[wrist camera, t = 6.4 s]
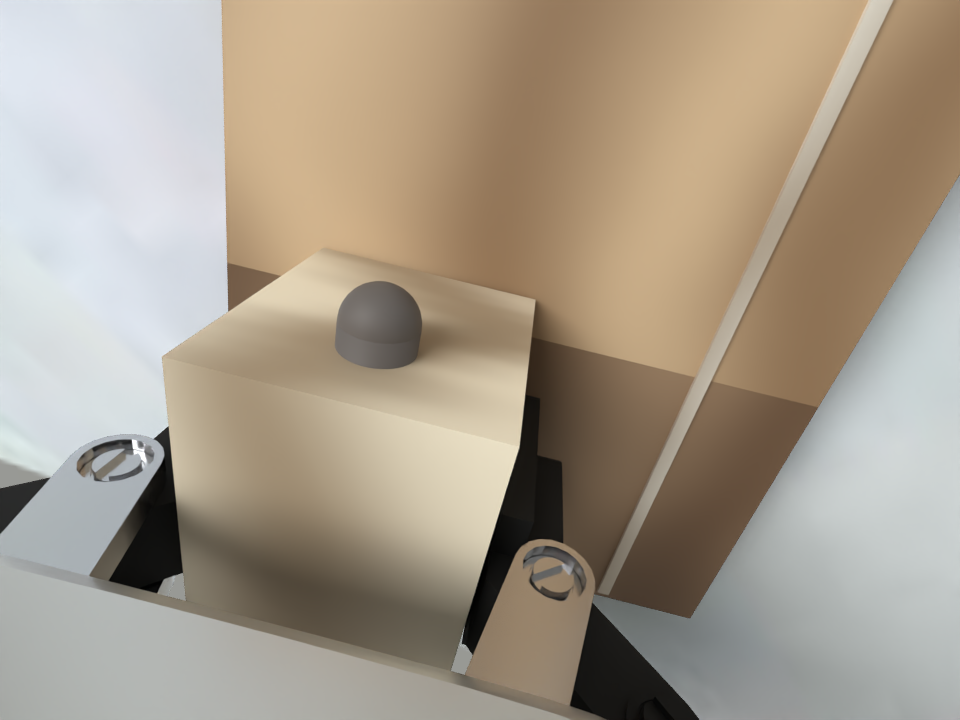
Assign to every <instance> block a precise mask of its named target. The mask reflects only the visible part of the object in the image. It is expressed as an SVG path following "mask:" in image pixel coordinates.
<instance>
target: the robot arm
mask: <svg viewBox="0 0 960 720" xmlns="http://www.w3.org/2000/svg"><path fill="white" fill-rule="evenodd" d="M539 414H540V398H537V397H533V396H529V395H525V401H524V410H523V419H522V428H521V437H520V446H519V450H518V453H517V456H516V460H515V463H514V466H513V469H512V473H511V476H510V479H509V482H508V486H507V489H506V492H505V496H504V499H503V502H502V505H501V509H500V512H499V515H498V518H497V522H496V525H495V528H494V531H493V535H492V538H491V541H490V544H489V548H488V551H487V554H486V557H485V561H484V564H483V567H482V570H481V574H480V577H479V580H478V584H477V587H476V590H475V593H474V597H473V600H472V603H471V606H470V610H469V613H468V616H467V619H466V623H465V627H464V633H463V639H462V644H465V645H466V646H467V647H468V649H469V650H470V652H471V653H472V655H473V656H472V659H471V661H470V664H469V666H468V668H467V671H466V673H465V675H463V674H459V673H455V672H452V671H448V670H445V669H441V668H437V667H433V666H430V665H426V664H422V663H418V662H415V661H411V660H407V659H404V658H400V657H396V656H392V655H389V654H385V653H381V652H377V651H374V650H370V649H366V648H362V647H359V646H355V645H351V644H348V643H344V642H340V641H336V640H333V639H329V638H325V637H321V636H317V635H314V634H310V633H306V632H302V631H298V630H295V629H291V628H287V627H283V626H279V625H276V624H272V623H268V622H264V621H260V620H257V619H253V618H249V617H245V616H241V615H237V614H234V613H230V612H226V611H222V610H218V609H214V608H211V607H207V606H203V605H199V604H195V603H191V602H188V601H183V600H180V599H176V598H172V597H168V594H169V592H170V590H171V588H172V586H173V583H174V579H175V576H176V575H178V574H180V573H183V566H182V556H181V546H180V536H179V526H178V515H177V505H176V495H175V485H174V475H173V465H172V455H171V445H170V434H169V426H168V427H167V428H166V429H165V430H164V431H162V432H161V433H160V434H159V435H158V436H157V437H155V438H154V439H152V438H150V437H147V436H142V435H137V434H120V435H114V436H107V437H104V438H101V439H98V440H94V441H92V442H90V443H88V444H86V445H84V446H82V447H80V448H79V449H78V450H77V451H75V452H74V453H73V454H72V455H71V456H70V457H69V458H68V459H67V460H66V461H65V462H64V463H63V465H62V466H61V467H60V468H59V469H58V470H57V471H56V472H55V474H54V475H53V476H52V477H51V478H46V479H41V480H37V481H32V482H28V483H23V484H19V485H15V486H9V487H5V488H0V720H699V719H698V717H697V716H696V715H695V713H694V712H693V711H692V710H691V708H690V707H689V706H688V704H687V703H686V702H685V701H684V700H683V699H682V698H681V697H680V696H679V695H678V694H677V693H676V692H675V690H674V689H673V688H672V687H671V686H670V685H669V684H668V683H667V682H666V681H665V680H664V679H663V678H662V677H661V676H660V674H659V673H658V672H657V671H656V670H655V669H654V668H653V667H652V666H651V665H650V664H649V663H648V662H647V661H646V660H645V658H644V657H643V656H642V655H641V654H640V653H639V652H638V651H637V650H636V649H635V648H634V647H633V646H632V645H631V643H630V642H629V641H628V640H627V639H626V638H625V637H624V636H623V635H622V634H621V633H620V632H619V631H618V630H617V629H616V627H615V626H614V625H613V624H612V623H611V622H610V621H609V620H608V619H607V618H606V617H605V616H604V615H603V614H602V613H601V611H600V610H599V609H598V608H597V607H596V606H595V605H594V604H593V603H592V601H593V596H594V592H595V578H594V575H593V572H592V570H591V568H590V566H589V565H588V563H587V562H586V561H585V559H584V558H583V557H582V556H581V555H580V554H578V553H577V552H576V551H575V550H574V549H572V548H570V547H568V546H567V545H565V544H563V482H562V462H561V461H559V460H555V459H551V458H547V457H543V456H539V455H537V452H538V433H539Z"/></svg>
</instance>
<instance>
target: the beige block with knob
mask: <svg viewBox="0 0 960 720" xmlns="http://www.w3.org/2000/svg"><path fill="white" fill-rule="evenodd" d="M535 301H536V300H535V299H531V298H527V297H523V296H519V295H515V294H510V293H506V292H502V291H498V290H494V289H490V288H486V287H482V286H478V285H474V284H470V283H466V282H462V281H458V280H454V279H449V278H445V277H441V276H437V275H433V274H429V273H425V272H421V271H417V270H413V269H409V268H405V267H401V266H397V265H393V264H388V263H384V262H380V261H376V260H372V259H368V258H364V257H360V256H356V255H352V254H348V253H344V252H340V251H336V250H331V249H327V248H322V249H321V250H319V251H318V252H316V253H315V254H313V255H312V256H310V257H309V258H307V259H306V260H304V261H303V262H301V263H300V264H298V265H297V266H295V267H294V268H292V269H291V270H289V271H288V272H286V273H285V274H284V275H282V276H281V277H279V278H278V279H276V280H275V281H273V282H272V283H270V284H269V285H267V286H266V287H264V288H263V289H261V290H260V291H258V292H257V293H255V294H254V295H252V296H251V297H249V298H248V299H246V300H245V301H243V302H242V303H241V304H239V305H238V306H236V307H235V308H233V309H232V310H230V311H229V312H227V313H226V314H224V315H223V316H221V317H220V318H218V319H217V320H215V321H214V322H212V323H211V324H209V325H208V326H206V327H205V328H203V329H202V330H201V331H199V332H198V333H196V334H195V335H193V336H192V337H190V338H189V339H187V340H186V341H184V342H183V343H181V344H180V345H178V346H177V347H175V348H174V349H172V350H171V351H169V352H168V353H166V354H165V355H163V356H162V363H163V374H164V384H165V394H166V404H167V414H168V424H169V434H170V445H171V455H172V465H173V475H174V485H175V495H176V505H177V515H178V526H179V536H180V546H181V556H182V566H183V576H184V586H185V596H186V601H188V602H191V603H195V604H199V605H203V606H207V607H211V608H214V609H218V610H222V611H226V612H230V613H234V614H237V615H241V616H245V617H249V618H253V619H257V620H260V621H264V622H268V623H272V624H276V625H279V626H283V627H287V628H291V629H295V630H298V631H302V632H306V633H310V634H314V635H317V636H321V637H325V638H329V639H333V640H336V641H340V642H344V643H348V644H351V645H355V646H359V647H362V648H366V649H370V650H374V651H377V652H381V653H385V654H389V655H392V656H396V657H400V658H404V659H407V660H411V661H415V662H418V663H422V664H426V665H430V666H433V667H437V668H441V669H445V670H448V671H451V668H452V665H453V662H454V658H455V655H456V652H457V649H458V645H459V642H460V639H461V636H462V632H463V629H464V626H465V623H466V619H467V616H468V613H469V610H470V606H471V603H472V600H473V597H474V593H475V590H476V587H477V584H478V580H479V577H480V574H481V570H482V567H483V564H484V561H485V557H486V554H487V551H488V548H489V544H490V541H491V538H492V535H493V531H494V528H495V525H496V522H497V518H498V515H499V512H500V509H501V505H502V502H503V499H504V496H505V492H506V489H507V486H508V482H509V479H510V476H511V473H512V469H513V466H514V463H515V460H516V456H517V453H518V450H519V446H520V437H521V428H522V419H523V410H524V401H525V392H526V383H527V374H528V364H529V355H530V346H531V337H532V328H533V319H534V310H535Z"/></svg>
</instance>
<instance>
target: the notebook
mask: <svg viewBox="0 0 960 720" xmlns="http://www.w3.org/2000/svg"><path fill="white" fill-rule="evenodd" d="M222 45H223V90H224V136H225V181H226V226H227V271H228V312H229V311H230V310H232V309H233V308H235V307H236V306H238V305H239V304H241V303H242V302H243V301H245V300H246V299H248V298H249V297H251V296H252V295H254V294H255V293H257V292H258V291H260V290H261V289H263V288H264V287H266V286H267V285H269V284H270V283H272V282H273V281H275V280H276V279H278V278H279V277H281V276H282V275H284V274H285V273H286V272H288V271H289V270H291V269H292V268H294V267H295V266H297V265H298V264H300V263H301V262H303V261H304V260H306V259H307V258H309V257H310V256H312V255H313V254H315V253H316V252H318V251H319V250H321V249H322V248H327V249H331V250H336V251H340V252H344V253H348V254H352V255H356V256H360V257H364V258H368V259H372V260H376V261H380V262H384V263H388V264H393V265H397V266H401V267H405V268H409V269H413V270H417V271H421V272H425V273H429V274H433V275H437V276H441V277H445V278H449V279H454V280H458V281H462V282H466V283H470V284H474V285H478V286H482V287H486V288H490V289H494V290H498V291H502V292H506V293H510V294H515V295H519V296H523V297H527V298H531V299H535V300H536V301H535V310H534V319H533V328H532V337H531V346H530V355H529V364H528V374H527V383H526V392H525V395H529V396H533V397H537V398H540V414H539V433H538V452H537V455H539V456H543V457H547V458H551V459H555V460H559V461H561V462H562V482H563V544H565V545H567V546H568V547H570V548H572V549H574V550H575V551H576V552H577V553H578V554H580V555H581V556H582V557H583V558H584V559H585V561H586V562H587V563H588V565H589V566H590V568H591V570H592V572H593V575H594V578H595V592H594V594H596V595H600V596H604V597H608V598H612V599H616V600H620V601H624V602H628V603H631V604H635V605H639V606H643V607H647V608H651V609H655V610H659V611H663V612H667V613H670V614H674V615H678V616H682V617H686V618H691V616H692V614H693V613H694V611H695V609H696V608H697V606H698V604H699V603H700V601H701V600H702V598H703V596H704V595H705V593H706V591H707V590H708V588H709V586H710V585H711V583H712V581H713V580H714V578H715V576H716V575H717V573H718V572H719V570H720V568H721V567H722V565H723V563H724V562H725V560H726V558H727V557H728V555H729V553H730V552H731V550H732V548H733V547H734V545H735V544H736V542H737V540H738V539H739V537H740V535H741V534H742V532H743V530H744V529H745V527H746V525H747V524H748V522H749V520H750V519H751V517H752V516H753V514H754V512H755V511H756V509H757V507H758V506H759V504H760V502H761V501H762V499H763V497H764V496H765V494H766V492H767V491H768V489H769V488H770V486H771V484H772V483H773V481H774V479H775V478H776V476H777V474H778V473H779V471H780V469H781V468H782V466H783V464H784V463H785V461H786V460H787V458H788V456H789V455H790V453H791V451H792V450H793V448H794V446H795V445H796V443H797V441H798V440H799V438H800V436H801V435H802V433H803V432H804V430H805V428H806V427H807V425H808V423H809V422H810V420H811V418H812V417H813V415H814V413H815V412H816V410H817V408H818V407H819V405H820V404H821V402H822V400H823V399H824V397H825V395H826V394H827V392H828V390H829V389H830V387H831V385H832V384H833V382H834V380H835V379H836V377H837V376H838V374H839V372H840V371H841V369H842V367H843V366H844V364H845V362H846V361H847V359H848V357H849V356H850V354H851V352H852V351H853V349H854V348H855V346H856V344H857V343H858V341H859V339H860V338H861V336H862V334H863V333H864V331H865V329H866V328H867V326H868V324H869V323H870V321H871V320H872V318H873V316H874V315H875V313H876V311H877V310H878V308H879V306H880V305H881V303H882V301H883V300H884V298H885V296H886V295H887V293H888V292H889V290H890V288H891V287H892V285H893V283H894V282H895V280H896V278H897V277H898V275H899V273H900V272H901V270H902V268H903V267H904V265H905V264H906V262H907V260H908V259H909V257H910V255H911V254H912V252H913V250H914V249H915V247H916V245H917V244H918V242H919V240H920V239H921V237H922V236H923V234H924V232H925V231H926V229H927V227H928V226H929V224H930V222H931V221H932V219H933V217H934V216H935V214H936V212H937V211H938V209H939V208H940V206H941V204H942V203H943V201H944V199H945V198H946V196H947V194H948V193H949V191H950V189H951V188H952V186H953V184H954V183H955V181H956V180H957V178H958V176H959V175H960V0H222Z"/></svg>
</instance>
